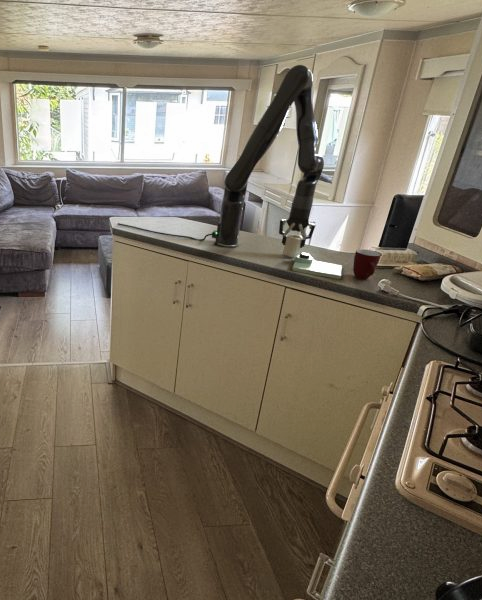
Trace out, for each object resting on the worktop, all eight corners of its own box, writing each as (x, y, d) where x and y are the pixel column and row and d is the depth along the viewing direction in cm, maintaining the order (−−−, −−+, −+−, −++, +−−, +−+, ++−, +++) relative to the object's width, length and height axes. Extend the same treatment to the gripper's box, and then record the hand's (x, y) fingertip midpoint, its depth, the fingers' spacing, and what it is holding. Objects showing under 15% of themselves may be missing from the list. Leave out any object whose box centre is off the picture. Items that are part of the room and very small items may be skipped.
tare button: (299, 258, 172) (300, 254, 171) (299, 256, 175) (300, 251, 174) (308, 260, 170) (309, 255, 170) (309, 257, 173) (310, 253, 173)
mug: (381, 284, 155) (390, 258, 151) (360, 284, 155) (368, 258, 151) (364, 274, 165) (372, 249, 161) (344, 274, 164) (351, 249, 160)
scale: (291, 270, 166) (292, 263, 165) (295, 260, 178) (296, 253, 176) (340, 279, 159) (342, 271, 158) (341, 268, 171) (343, 261, 169)
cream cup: (281, 254, 180) (285, 236, 177) (283, 251, 186) (287, 233, 182) (297, 257, 178) (301, 239, 175) (299, 253, 183) (303, 235, 180)
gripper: (321, 207, 174) (311, 247, 180) (284, 202, 179) (276, 241, 186) (320, 210, 167) (309, 251, 174) (281, 205, 173) (273, 245, 180)
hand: (292, 245), depth 180 cm, fingers closed on cream cup, 6 cm apart
